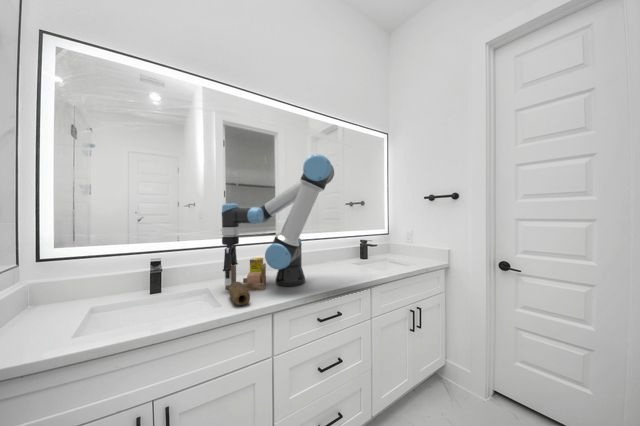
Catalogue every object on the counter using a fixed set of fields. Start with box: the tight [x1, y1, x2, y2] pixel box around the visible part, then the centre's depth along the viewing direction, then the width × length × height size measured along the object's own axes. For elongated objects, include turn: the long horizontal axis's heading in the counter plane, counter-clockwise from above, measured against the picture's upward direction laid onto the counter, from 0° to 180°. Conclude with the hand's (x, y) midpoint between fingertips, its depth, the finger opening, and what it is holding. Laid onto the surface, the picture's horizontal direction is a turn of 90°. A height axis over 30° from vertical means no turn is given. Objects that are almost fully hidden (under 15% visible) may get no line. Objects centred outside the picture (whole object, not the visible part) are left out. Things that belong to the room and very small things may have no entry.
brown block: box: [224, 265, 262, 290], centre depth 115 cm, size 16×7×10 cm, turn 100°
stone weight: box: [228, 281, 251, 306], centre depth 97 cm, size 15×7×7 cm, turn 34°
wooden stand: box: [242, 262, 267, 292], centre depth 115 cm, size 11×12×10 cm
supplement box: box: [249, 257, 264, 277], centre depth 131 cm, size 6×6×11 cm
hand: (230, 281), depth 114 cm, fingers open, 11 cm apart
